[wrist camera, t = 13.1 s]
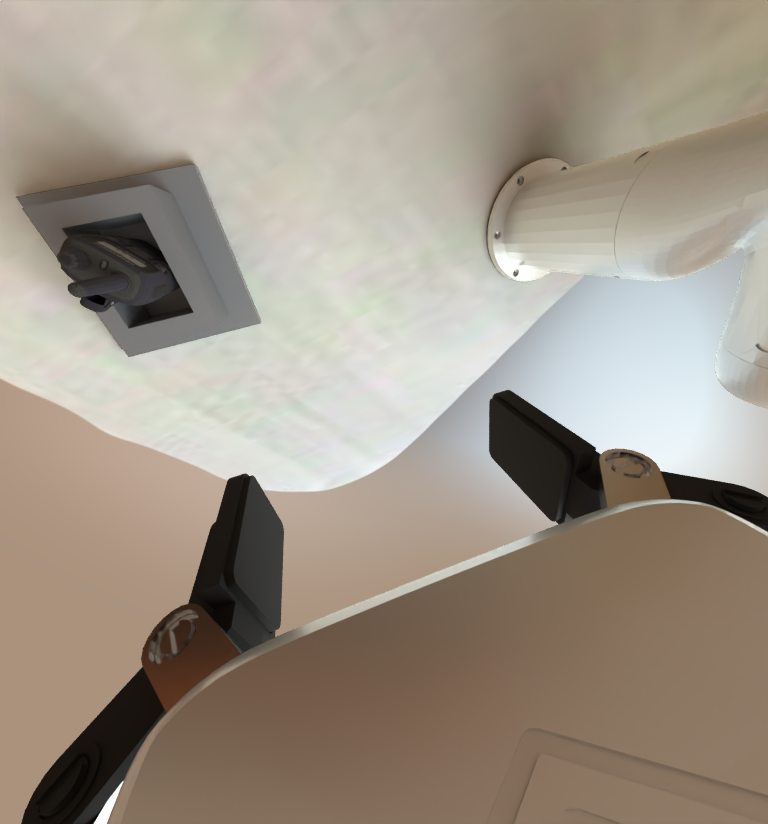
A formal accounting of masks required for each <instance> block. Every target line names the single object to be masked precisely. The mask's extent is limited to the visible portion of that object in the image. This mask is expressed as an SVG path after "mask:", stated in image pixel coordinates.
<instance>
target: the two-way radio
mask: <svg viewBox="0 0 768 824" xmlns="http://www.w3.org/2000/svg"><path fill="white" fill-rule="evenodd" d="M57 259H58V261H59V262H60V264H61V269H62V270H63V271H64V272H65V273H66V274H67V275H68V276H69V277H70V278H72V279H73V280H74V281H76V282H74V283H70V284H69V285H68V291H69V292H70V293H71V294H72V295H73V296H75V297H79V298H80V297H82V298H81V300H80V304H81V305H82V306H84V307H86V308H88V309H90V310H92V311H95V312H104V311H107V310H108V309H109V308H110V307H111V306H113V305H114V304H116V303H122V304H128V305H134V306H139V305H144V304H148V303H151V302H153V301H156V300H158V299H160V298H162V297H163V296H165V295H167V294H169V293H171V292H173V291H175V290H177V289H179V288H181V287H180V285H179V284H178V282H177V280H176V278H175V276H174V274H173V272H172V270H171V268H170V267H169V265H168V263H167V261H166V259H165V257H164V255H163V253H162V251H160V250H159V249H157V248H155V247H154V246H152V245H150V244H148V243H146V242H145V241H142V240H140V239H135V238H124V237H121V236H118V237H115V236H99V235H82V234H81V235H74V236H70V237H68V238H67V239H66V240H65V241H64V242H63V244H62V246H61V248H60V252H59V253H58V254H57Z"/></svg>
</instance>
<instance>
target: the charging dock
mask: <svg viewBox="0 0 768 824" xmlns="http://www.w3.org/2000/svg"><path fill="white" fill-rule="evenodd" d="M16 198H17V199H18V200H19V202H20V203H21V205H22V206H23V208H22V209H23V210H24V212H25V213H26V215H27V216H28V217H29V219H30V220H31V222H32V223H33V224H34V226H35V227H36V229H37V230H38V232H39V233H40V234H41V236H42V237H43V239H44V240H45V241H46V243H47V244H48V246H49V247H50V249H51V250H52V251H53V253H54V254H55V256H56V257H57V254H58V253H59V252H60V248H61V246H62V244H63V242H64V241H65V240H66V239H67V238H68V237H70V236H74V235H81V234H82V235H99V236H115V237H118V236H121V237H124V238H135V239H140V240H142V241H145V242H146V243H148V244H150V245H152V246H154V247H155V248H157V249H159V250H160V251H162V253H163V255H164V257H165V259H166V261H167V263H168V265H169V267H170V268H171V270H172V272H173V274H174V276H175V278H176V280H177V282H178V284H179V285H180V287H181V288H179V289H177V290H175V291H173V292H171V293H169V294H167V295H165V296H163V297H162V298H160V299H158V300H156V301H153V302H151V303H148V304H144V305H139V306H134V305H128V304H122V303H116V304H114V305H113V306H111V307H110V308H109V309H108V310H107V311H104V312H96V314H97V315H98V316H99V318H100V319H101V321H102V322H103V323H104V325H105V326H106V328H107V329H108V331H109V332H110V333H111V335H112V336H113V338H114V339H115V340H116V342H117V343H118V345H119V346H120V348H121V349H123V350H124V351H125V352H126V354H127V355H128V357H131V356H135V355H139V354H143V353H146V352H150V351H154V350H158V349H162V348H166V347H170V346H174V345H178V344H182V343H185V342H189V341H193V340H197V339H201V338H205V337H209V336H213V335H217V334H221V333H224V332H228V331H232V330H236V329H240V328H244V327H248V326H252V325H256V324H260V323H261V320H260V317H259V315H258V313H257V310H256V308H255V305H254V303H253V300H252V298H251V296H250V293H249V291H248V288H247V286H246V284H245V281H244V279H243V276H242V274H241V271H240V269H239V267H238V264H237V262H236V259H235V257H234V255H233V252H232V250H231V247H230V245H229V243H228V240H227V238H226V235H225V233H224V230H223V228H222V226H221V223H220V221H219V218H218V216H217V214H216V211H215V209H214V206H213V204H212V201H211V199H210V197H209V194H208V192H207V189H206V187H205V185H204V182H203V180H202V177H201V175H200V173H199V170H198V168H197V166H196V165H194V164H192V165H186V166H181V167H175V168H170V169H164V170H159V171H154V172H148V173H143V174H137V175H132V176H126V177H121V178H115V179H110V180H104V181H99V182H93V183H88V184H82V185H77V186H72V187H66V188H61V189H55V190H50V191H44V192H39V193H33V194H28V195H22V196H17V197H16ZM72 280H73V279H72ZM73 281H74V280H73ZM74 282H76V281H74Z"/></svg>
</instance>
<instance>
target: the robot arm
mask: <svg viewBox="0 0 768 824" xmlns="http://www.w3.org/2000/svg"><path fill="white" fill-rule="evenodd" d="M494 235H495V236H494ZM487 240H488V249H489V253H490V257H491V260H492V262H493V264H494V265H495V267H496V269H497V270H498V271H499V272H500V273H501V274H502V275H503V276H505V277H506V278H508V279H511V280H514V281H520V282H527V281H533V280H536V279H539V278H541V277H543V276H545V275H546V274H548V273H549V272H551V271H555V272H565V273H575V274H585V275H595V276H605V277H616V278H625V279H635V280H647V281H666V280H672V279H678V278H681V277H685V276H688V275H691V274H694V273H696V272H699V271H701V270H703V269H705V268H707V267H709V266H711V265H713V264H715V263H717V262H719V261H721V260H723V259H724V258H726V257H728V256H729V255H731V254H733V253H735V252H737V251H738V250H740V249H741V248H742V249H743V250H744V253H745V262H744V265H743V269H742V272H741V275H740V283H739V285H738V288H737V292H736V294H735V297H734V300H733V303H732V306H731V310H730V312H729V315H728V318H727V321H726V324H725V327H724V330H723V333H722V336H721V340H720V343H719V346H718V350H717V355H716V359H715V373H716V376H717V378H718V380H719V382H720V383H721V385H722V386H723V387H724V388H725V389H726V390H727V391H729V392H730V393H731V394H733V395H735V396H736V397H738V398H740V399H742V400H744V401H746V402H749V403H752V404H754V405H757V406H760V407H763V408H767V409H768V112H765V113H762V114H759V115H755V116H752V117H749V118H746V119H743V120H739V121H736V122H733V123H729V124H726V125H723V126H719V127H716V128H712V129H709V130H705V131H702V132H698V133H695V134H691V135H687V136H684V137H681V138H677V139H674V140H670V141H666V142H663V143H659V144H656V145H652V146H649V147H645V148H641V149H638V150H634V151H631V152H627V153H623V154H620V155H616V156H613V157H609V158H606V159H602V160H598V161H595V162H591V163H588V164H584V165H581V166H577V167H573V168H571V167H570V165H569V164H567V163H565V162H564V161H562V160H559V159H555V158H546V159H541V160H537V161H534V162H532V163H530V164H528V165H526V166H524V167H522V168H521V169H520V170H518V171H517V172H516V173H515V174H514V175H513V176H512V177H511V178H510V179H509V180H508V181H507V182H506V184H505V185H504V187H503V188H502V190H501V191H500V193H499V195H498V197H497V199H496V201H495V203H494V206H493V209H492V212H491V215H490V219H489V225H488V238H487ZM489 411H490V412H489V417H490V418H489V421H490V422H489V452H490V455H491V457H492V458H493V459H494V461H495V462H496V463H497V464H498V465H499V466H500V467H501V468H502V469H503V470H504V471H505V472H506V473H507V474H508V475H509V477H511V479H512V480H513V481H514V482H515V483H516V484H517V485H518V486H519V487H520V488H521V489H522V490H523V492H524V493H525V494H526V495H527V496H528V497H529V498H530V499H531V500H532V501H533V502H534V503H535V504H536V506H537V507H538V508H539V509H540V510H541V511H542V512H543V513H544V514H545V515H546V516H547V517H548V518H549V519H550V520H551V521H556V522H557V523H558V524H559V525H556V526H554V527H551V528H548V529H546V530H543V531H541V532H538V533H536V534H533V535H531V536H528V537H525V538H522V539H520V540H517V541H515V542H512V543H510V544H507V545H504V546H502V547H499V548H497V549H494V550H492V551H489V552H486V553H484V554H481V555H479V556H476V557H474V558H471V559H468V560H466V561H463V562H461V563H458V564H456V565H453V566H451V567H448V568H446V569H443V570H441V571H438V572H436V573H433V574H430V575H428V576H425V577H423V578H420V579H418V580H415V581H412V582H410V583H408V584H405V585H402V586H400V587H397V588H395V589H393V590H390V591H387V592H385V593H382V594H380V595H377V596H375V597H372V598H370V599H367V600H365V601H362V602H360V603H357V604H355V605H352V606H350V607H347V608H345V609H342V610H340V611H337V612H335V613H332V614H330V615H327V616H325V617H322V618H320V619H318V620H315V621H313V622H311V623H308V624H306V625H303V626H301V627H298V628H296V629H294V630H291V631H289V632H286V633H284V634H282V635H280V636H277V637H275V630H277V629H279V628H280V622H281V598H282V569H283V541H284V540H283V539H284V529H283V524H282V522H281V520H280V519H279V517H278V515H277V514H276V512H275V510H274V508H273V507H272V505H271V504H270V502H269V500H268V498H267V497H266V495H265V493H264V492H263V490H262V488H261V487H260V485H259V483H258V482H257V480H256V478H255V477H254V476H249V475H248V474H242V475H239V476H236V477H233V478H230V479H228V481H227V485H226V488H225V492H224V495H223V499H222V502H221V506H220V510H219V514H218V517H217V520H216V522H215V523H214V524H213V525H212V527H211V529H210V532H209V535H208V539H207V542H206V546H205V549H204V553H203V556H202V559H201V563H200V566H199V569H198V573H197V576H196V580H195V583H194V586H193V590H192V593H191V597H190V600H189V603H188V604H186V605H182V606H180V607H179V608H176V609H175V610H173V611H172V612H170V613H169V614H168V615H167V616H165V617H164V618H163V619H162V620H161V621H160V622H159V624H157V626H156V627H155V628H154V629H153V631H152V633H151V634H150V635H149V637H148V638H147V641H146V643H145V645H144V647H143V651H142V657H141V661H142V666H143V667H142V668H141V669H140V670H139V671H138V672H137V674H136V675H135V676H134V677H133V678H132V679H131V680H130V681H129V682H128V683H127V685H126V686H125V687H124V688H123V689H122V690H121V691H120V692H119V693H118V694H117V695H116V696H115V698H114V699H113V700H112V701H111V702H110V703H109V704H108V705H107V706H106V707H105V708H104V709H103V711H102V712H101V713H100V714H99V715H98V716H97V717H96V718H95V719H94V720H93V722H92V723H91V724H90V725H89V726H88V727H87V728H86V729H85V730H84V731H83V732H82V733H81V734H80V736H79V737H78V738H77V739H76V740H75V741H74V742H73V743H72V745H70V747H69V748H68V749H67V750H66V751H65V752H64V753H63V754H62V755H61V756H60V757H59V759H58V760H57V761H56V762H55V763H54V764H53V766H52V767H51V768H50V769H49V771H48V772H47V773H46V774H45V776H44V777H43V779H42V780H41V782H40V784H39V785H38V787H37V788H36V790H35V791H34V793H33V795H32V797H31V799H30V801H29V804H28V806H27V808H26V810H25V813H24V816H23V819H22V823H21V824H768V497H766V496H764V495H763V494H761V493H759V492H757V491H754V490H752V489H749V488H746V487H743V486H739V485H735V484H731V483H725V482H719V481H714V480H708V479H702V478H697V477H690V476H685V475H679V474H674V473H668V472H662V471H660V469H659V467H658V466H657V464H656V463H655V462H654V461H653V460H652V459H650V458H649V457H647V456H645V455H643V454H641V453H638V452H635V451H632V450H627V449H611V450H607V451H605V452H603V453H602V454H599V453H598V452H596V451H595V450H596V448H595V447H594V446H592V445H591V444H589V443H588V442H586V441H585V440H583V439H582V438H580V437H579V436H577V435H576V434H575V433H573V432H572V431H570V430H569V429H567V428H565V427H564V426H562V425H561V424H559V423H558V422H557V421H555V420H554V419H552V418H551V417H549V416H548V415H546V414H545V413H543V412H542V411H540V410H539V409H537V408H536V407H534V406H533V405H531V404H530V403H528V402H527V401H525V400H524V399H522V398H521V397H519V396H518V395H516V394H515V393H513V392H512V391H510V390H506V391H502V392H499V393H496V394H494V395H493V398H492V399H491V400H490V410H489Z"/></svg>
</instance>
